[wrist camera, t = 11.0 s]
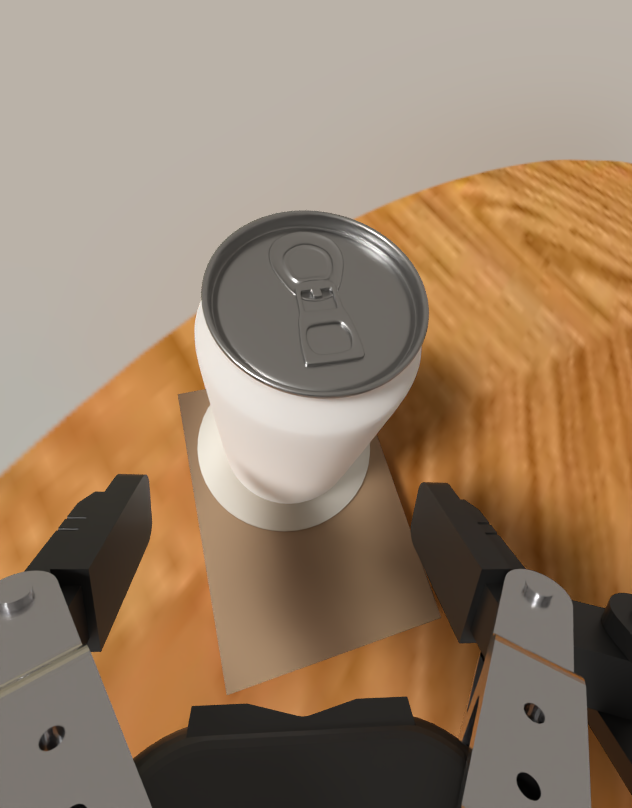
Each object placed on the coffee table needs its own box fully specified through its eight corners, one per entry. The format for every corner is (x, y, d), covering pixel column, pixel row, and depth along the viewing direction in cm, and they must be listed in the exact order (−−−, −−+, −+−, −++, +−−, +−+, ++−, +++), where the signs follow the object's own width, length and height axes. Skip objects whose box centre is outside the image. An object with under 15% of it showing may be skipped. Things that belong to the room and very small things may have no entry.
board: (343, 366, 25) (349, 351, 23) (428, 614, 20) (443, 618, 18) (181, 397, 23) (175, 383, 21) (229, 685, 18) (226, 697, 16)
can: (332, 379, 22) (401, 192, 11) (363, 491, 20) (485, 390, 9) (217, 397, 21) (169, 205, 10) (235, 518, 19) (198, 439, 8)
